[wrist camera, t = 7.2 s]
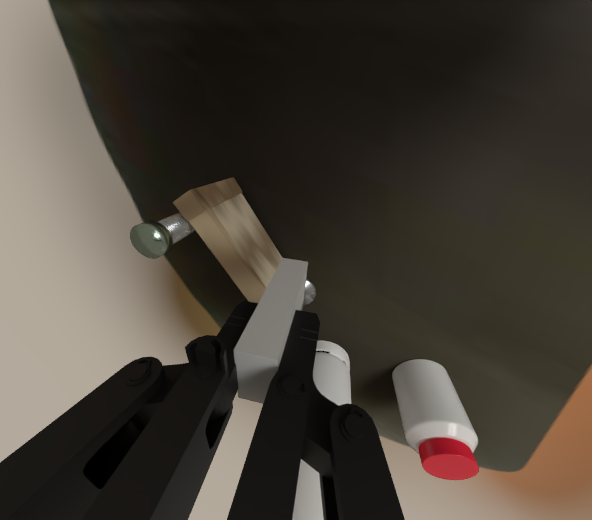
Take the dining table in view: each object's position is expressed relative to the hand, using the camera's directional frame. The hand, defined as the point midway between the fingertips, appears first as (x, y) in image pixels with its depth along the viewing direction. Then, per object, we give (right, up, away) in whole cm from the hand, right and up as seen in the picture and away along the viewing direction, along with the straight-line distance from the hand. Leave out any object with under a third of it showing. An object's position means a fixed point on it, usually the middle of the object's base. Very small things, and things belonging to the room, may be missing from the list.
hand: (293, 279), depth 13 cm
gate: (-4, +4, +13) cm, 14 cm away
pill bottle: (+19, -17, +21) cm, 33 cm away
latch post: (-8, +8, +13) cm, 18 cm away
